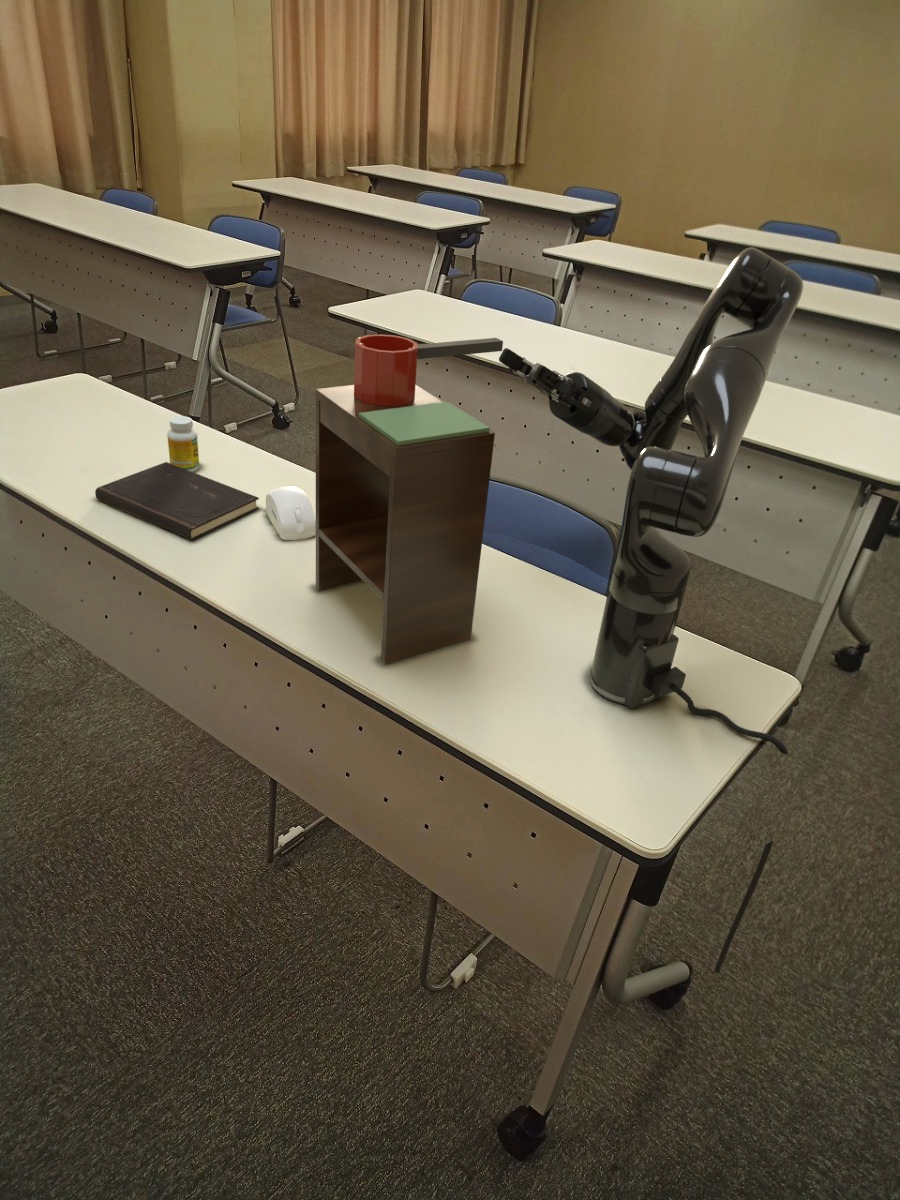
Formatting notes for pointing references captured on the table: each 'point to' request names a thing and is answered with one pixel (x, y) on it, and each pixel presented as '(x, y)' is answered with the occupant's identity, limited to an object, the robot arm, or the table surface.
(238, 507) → the hardcover book
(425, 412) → the green flat slab
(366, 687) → the table surface
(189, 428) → the supplement bottle
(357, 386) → the pot
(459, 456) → the shelf
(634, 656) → the robot arm
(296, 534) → the computer mouse
